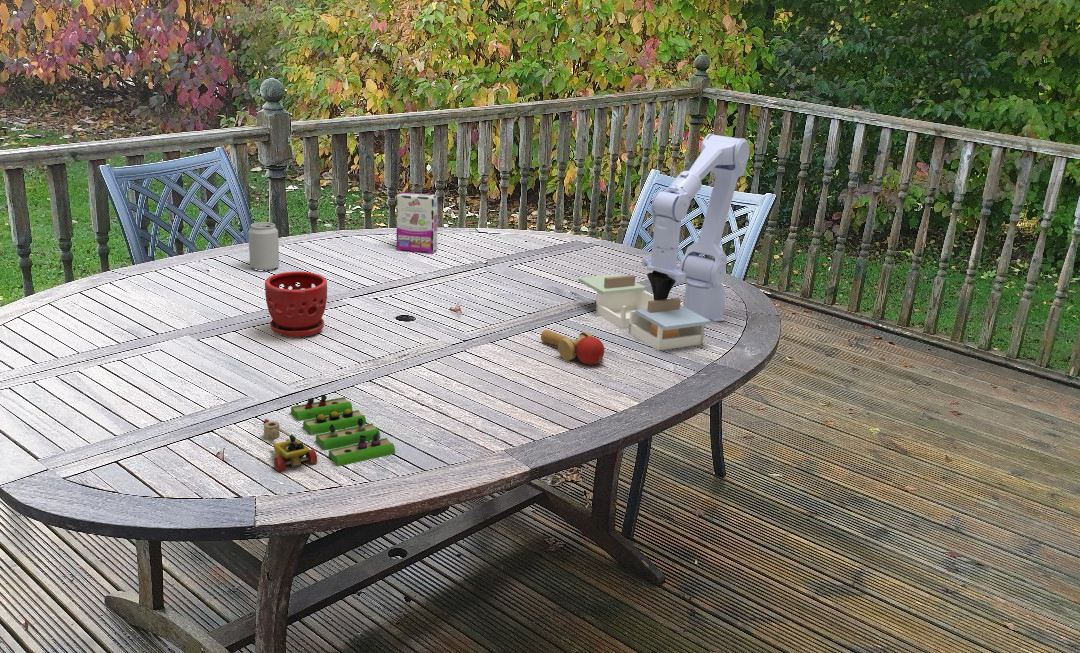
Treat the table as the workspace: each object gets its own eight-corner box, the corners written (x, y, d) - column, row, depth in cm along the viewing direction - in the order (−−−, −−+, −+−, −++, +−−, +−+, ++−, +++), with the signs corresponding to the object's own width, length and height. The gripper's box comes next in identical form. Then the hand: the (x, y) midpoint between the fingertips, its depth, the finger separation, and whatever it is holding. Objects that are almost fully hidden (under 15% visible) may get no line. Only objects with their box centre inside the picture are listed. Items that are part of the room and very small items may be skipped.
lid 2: (679, 307, 224) (680, 294, 223) (710, 324, 214) (712, 310, 213) (635, 313, 219) (636, 299, 218) (665, 330, 209) (666, 316, 208)
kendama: (529, 352, 214) (583, 367, 200) (532, 323, 213) (586, 336, 199) (556, 351, 218) (611, 366, 205) (559, 324, 218) (614, 337, 204)
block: (666, 336, 221) (667, 318, 219) (677, 343, 217) (679, 324, 216) (649, 338, 219) (651, 320, 217) (660, 345, 215) (662, 326, 214)
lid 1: (619, 276, 246) (620, 264, 245) (645, 290, 236) (646, 277, 235) (578, 280, 241) (578, 268, 240) (602, 294, 231) (603, 281, 230)
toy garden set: (396, 456, 162) (396, 430, 160) (283, 481, 152) (282, 455, 150) (344, 405, 180) (343, 382, 178) (240, 425, 170) (238, 400, 168)
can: (275, 272, 255) (273, 228, 251) (246, 271, 255) (244, 226, 251) (282, 265, 262) (281, 221, 258) (254, 263, 262) (252, 220, 258)
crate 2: (671, 330, 228) (674, 305, 226) (702, 347, 218) (705, 321, 216) (628, 335, 222) (630, 310, 221) (657, 353, 213) (660, 327, 211)
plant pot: (255, 330, 214) (252, 277, 210) (305, 317, 223) (304, 267, 219) (288, 346, 205) (287, 292, 201) (340, 332, 215) (339, 280, 211)
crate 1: (637, 310, 240) (639, 287, 238) (664, 326, 230) (666, 301, 228) (595, 315, 235) (597, 292, 233) (621, 331, 225) (623, 307, 223)
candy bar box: (437, 249, 285) (438, 194, 280) (433, 254, 280) (433, 198, 275) (400, 246, 287) (401, 191, 281) (395, 250, 282) (395, 194, 276)
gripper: (632, 239, 220) (627, 296, 225) (668, 255, 208) (662, 315, 213) (658, 237, 223) (653, 293, 228) (695, 253, 211) (689, 312, 216)
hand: (659, 304), depth 220 cm, fingers closed
